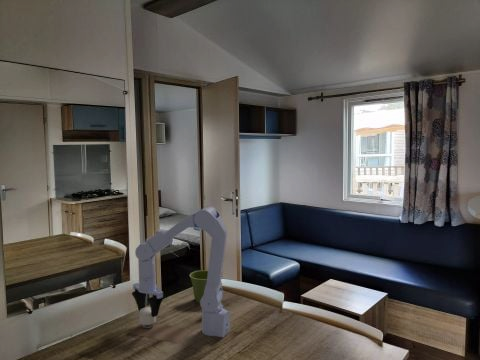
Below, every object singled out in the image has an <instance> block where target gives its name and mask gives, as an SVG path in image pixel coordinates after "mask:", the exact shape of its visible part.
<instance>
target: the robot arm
mask: <svg viewBox="0 0 480 360" xmlns="http://www.w3.org/2000/svg"><path fill="white" fill-rule="evenodd" d="M189 228H199V229H201V230H202V231H204V232H206V233H207V235H209V236H210V238H211V241H210V242H211V244H210V251H209V252H210V253H209V261H208V268H207V271H208V276H207V283H206V286H205V290H204V295H203V297H202V298H201V300H200V303H199V305H200V308H201V333H202V334H204V336H208V337H218V338H225V337H226V335H228V333H229V332H230V331H231V312H230V311H229V310H227V309H225V308H224V307H223V304H222V300H223V298H224V289H223V282H222V277H223V276H222V275H223V269H224V260H225V259H224V258H225V253H226V244H227V237H228V231H227V229H226V226H225V224H224V220H223V219H222V216H221V213H220V212H219V211H218V209H216V208H215V207H214V206H211V205H208V206H204V207H203V208H202V209H200V210H197V211H195V212H193V213H191V214H189V215H187V216H186V217H184V218H183V219H182V220H181V219H180V221H179V222H177V223H176V224H174V225H173V226H172V227H170V228H169V229H168V230H166V229H158V230H157V231H156V232H155V234H154V235H152V236H151V237H148V238H146V239H145V241H144V242H143V243H140V244H139V245H138V246H137V247H136V248H135V254H134V255H135V257H136V258H137V259H138V263H137V264H138V265H137V266H138V282H137V283H133V285H132V289H133V290H134V291H132V292H131V295H132V297H133V299H134V300H135V304H136V306H137V307H136V308H137V310H138V312H140V310H141V309H142V308H145V307H146V298H147V295H150V296H151V297H148V298H147V301H148V303H149V307H151V315H152V317H155V316H156V317H157V316H159V311H160V307H161V304H162V302H163V300H164V298H165V295H164V292H163V291H161V290H160V289H159V288H158V287H159V285H157V284H156V282H157V281H156V255H157V254H158V253H159V252H161V251H162V250H164V249H165V248H167V247H168V246H170V245H172V243H173V239H174V237H176V236H178V235H179V234H181V233H182V232H184V231H186V230H187V229H189Z"/></svg>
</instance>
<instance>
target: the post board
mask: <svg viewBox="0 0 480 360" xmlns="http://www.w3.org/2000/svg"><path fill="white" fill-rule="evenodd" d="M191 331H192V329H190V328H183V327H179V326H175V325H168V324H164V323H159V322H155V323H153V324H150V325H142V324H141V323H140V322H139V324H137V325H136V326H134V327H133V328H132V329H130V330H129V331H127V332H126V334H129V335H134V336H139V337H143V338H147V339H148V338H149V339H153V340H157V341H158V340H159V341H163V342H168V343H172V344H176V345H177V344H178V343H180V342H181V340H183V339H184V338H185V337H186V336H188V334H190V333H191Z"/></svg>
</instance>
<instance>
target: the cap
mask: <svg viewBox="0 0 480 360" xmlns="http://www.w3.org/2000/svg"><path fill="white" fill-rule="evenodd" d="M140 323H141V324H142V325H150V324H153V323H157V316H155V317H152V315H151V307H150V306H145V308H142V309H141V310H140V311H139V324H140Z"/></svg>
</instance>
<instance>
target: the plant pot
mask: <svg viewBox="0 0 480 360" xmlns="http://www.w3.org/2000/svg"><path fill="white" fill-rule="evenodd" d="M207 276H208V269H207V270H195V271H193V272H190V274H189V277H190V281H191V284H192V289H193V290H192V291H193V296H194V301H195V302H196V303H198V304H200V300H201V298H202V297H203V295H204V290H205V286H206V283H207Z"/></svg>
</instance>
